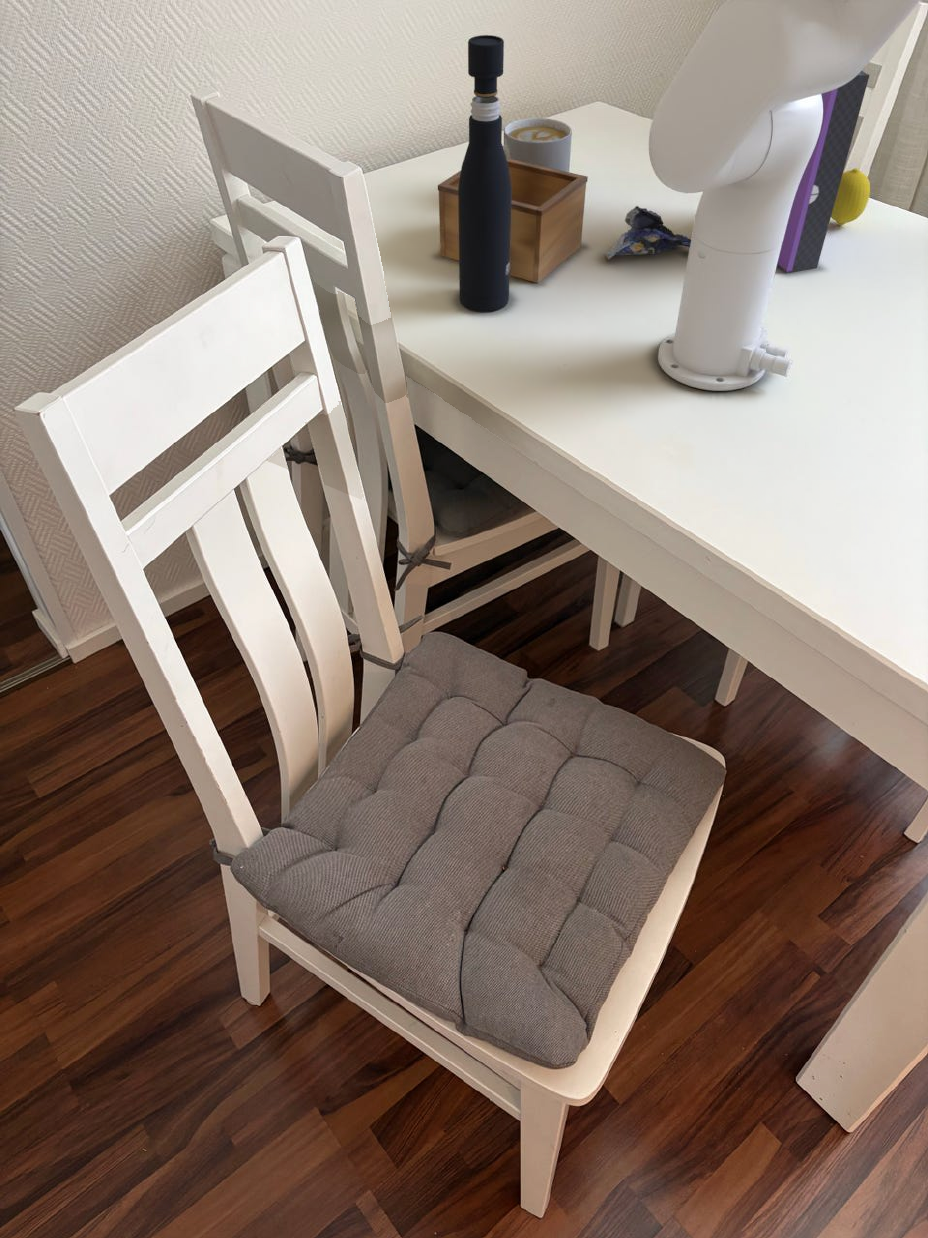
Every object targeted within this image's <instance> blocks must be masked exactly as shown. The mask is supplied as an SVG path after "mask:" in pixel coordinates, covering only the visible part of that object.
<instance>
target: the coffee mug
mask: <svg viewBox="0 0 928 1238" xmlns="http://www.w3.org/2000/svg"><path fill="white" fill-rule="evenodd" d="M572 135H573V129H572V127H571V126H570V125H569V124H567V123H566V122H563V121H561V120H558V119H555V118H554V119H553V118H547V117H527V118H521V119H516V120H513V121H511V122H509V123H507V124H506V125H505V126H504V127H503V145H502V146H503V149H504V152H505V156H506V158H509V159H513V160H517V161H522V162H526V163H530V164H535V165H539V166H543V167H548V168H552V169H556V170H561V171H565V172H569V173H570V166H571V165H570V164H571V151H572V139H573V138H572V137H573V136H572Z"/></svg>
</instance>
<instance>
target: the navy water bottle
mask: <svg viewBox="0 0 928 1238" xmlns="http://www.w3.org/2000/svg"><path fill="white" fill-rule="evenodd" d="M504 55H505V40H504V39H503V38H502V37H500V36H497V35H489V34H483V35H482V34H481V35H475V36H473V37H470V38H469V39H468V41H467V68H468V69H467V73H468V75H469V77H471V78H473V80H474V81H473V82H474V85H473V87H474V88H473V94H474V96H473V97H472V99H471V103H470V107H471V110H470V113H471V115H470V116H469V118H468V145H467V148H466V151H465V155H464V157H463V161H462V165H461V168H460V171H461V173H460V179H459V186H458V214H459V261H458V277H459V278H458V280H459V281H458V283H459V303H460V305H462V307H463V308H465V309H467V310H469V311H472V312H476V313H492V312H496V311H499V310H501V309H504V308H505V307H506V306H507V305H508V304H509V300H510V275H509V273H510V236H511V199H512V186H511V178H510V172H509V166H508V163H507V159H506V156H505V152H504V149H503V146H504V145H503V143H502V140H503V139H502V136H503V117H502V115H500V113H501V110H500V107H501V102H500V98H499V97H498V96H497V95H498V78H500V77H502V76H503V75H504V63H505V62H504Z"/></svg>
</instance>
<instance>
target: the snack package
mask: <svg viewBox="0 0 928 1238" xmlns="http://www.w3.org/2000/svg"><path fill="white" fill-rule="evenodd" d="M624 222H625V224H626V225H628V226H629V227H630V229H628V230H627V231H626V232H624V233H622V234H621V235H620V237H619V238H618V239H617V240H616V243H615V245H614V246H613V247H611V248H610V250H609V251H607V252H604V256H605V257H606V258H607V261H610V259H612V258H613V257H614V256H629V255H631V256H632V255H656V254H660V253H662V252H666V251H668V250H670V249H674V248H676V247H679V246H680V247H685V248H690V244H691V238H689V237H688V236H684V235H682V234H678V233H676V234H674V232H673V231H672V229H670V228H668V227H667V226H665V225H664V221H663V219H662V216H661V215H659V214H658V213H657V212H655V211H653V210H648V209H647V208H645V207H644V208H641V207H640V206H638V205H636V206H635V207H633V208H632V209H631V210H629V211H628V212H627V213H626V216H625V218H624ZM685 253H686V254H688V251H685Z"/></svg>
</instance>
